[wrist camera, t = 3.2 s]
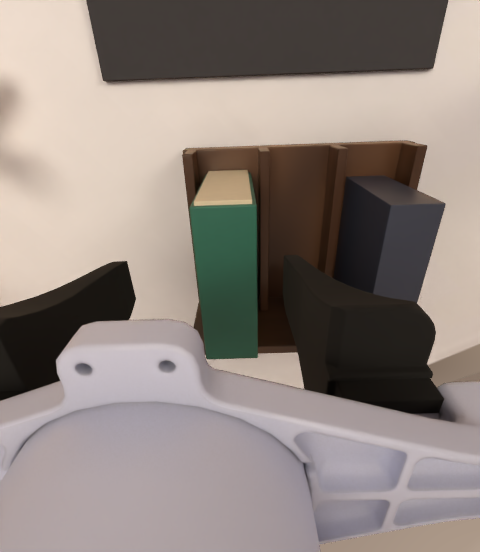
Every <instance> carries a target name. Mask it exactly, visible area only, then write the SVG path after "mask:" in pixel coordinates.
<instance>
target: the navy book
mask: <svg viewBox="0 0 480 552" xmlns="http://www.w3.org/2000/svg"><path fill="white" fill-rule="evenodd" d="M444 208H445V203H443V202H441V201H439V200H437V199H435V198H433V197H430V196H428V195H426V194H424V193H422V192H419V191H417V190H415V189H413V188H411V187H409V186H406V185H404V184H402V183H400V182H398V181H396V180H393V179H391V178H389V177H387V176H385V175H380V176H350V177H346V182H345V190H344V197H343V205H342V213H341V221H340V229H339V237H338V244H337V252H336V260H335V268H334V276H333V279H335V280H337V281H339V282H341V283H344V284H346V285H348V286H351V287H353V288H356V289H359V290H362V291H365V292H368V293H372V294H375V295H380V296H384V297H389V298H395V299H401V300H408V301H415V302H416V303H417V301H418V298H419V294H420V291H421V287H422V284H423V280H424V277H425V274H426V270H427V267H428V263H429V260H430V256H431V253H432V249H433V246H434V242H435V239H436V236H437V232H438V229H439V225H440V222H441V218H442V215H443V211H444Z"/></svg>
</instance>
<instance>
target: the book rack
mask: <svg viewBox="0 0 480 552" xmlns="http://www.w3.org/2000/svg"><path fill="white" fill-rule="evenodd" d="M426 150H427V145H422V144H417V143H415V142H411V141H378V142H350V143H322V144H294V145H265V146H237V147H209V148H186V149H185V150H183V155H182V157H183V165H184V174H185V183H186V192H187V200H188V209H189V208H190V206H191V204H192V202H193V200H194V198H195V196H196V194H197V192H198V190H199V188H200V186H201V184H202V182H203V180H204V178H205V176H206V174H207V173H208V171H223V170H248V172H250V173H251V177H252V183H253V188H254V194H255V199H256V204H257V307H258V353H289V352H298V351H297V347H296V344H295V341H294V337H293V334H292V331H291V328H290V325H289V321H288V318H287V315H286V312H285V306H284V300H283V263H284V255H298V256H300V257H302V258H303V259H304V260H306V261H307V262H308V263H310V264H311V265H313V266H314V267H315V268H317V269H318V270H320V271H321V272H323V273H325V274H326V275H328V276H330V277H331V278H333V276H334V268H335V260H336V252H337V244H338V237H339V229H340V221H341V213H342V205H343V197H344V190H345V182H346V177H350V176H380V175H385V176H387V177H389V178H391V179H393V180H396V181H398V182H400V183H402V184H404V185H406V186H409V187H411V188H413V189H415V190H417V187H418V183H419V179H420V175H421V171H422V166H423V162H424V158H425V154H426ZM189 218H190V210H189ZM190 226H191V219H190ZM191 235H192V227H191ZM192 244H193V236H192ZM193 253H194V245H193ZM194 261H195V254H194ZM195 270H196V263H195ZM196 279H197V272H196ZM197 288H198V280H197ZM198 296H199V289H198ZM194 329H196V330H197V331H198V333H199V335H200V337H201V339H202V341H203V344H204V352H205V355H206V351H205V342H204V333H203V325H202V316H201V307H200V298H199V304H198V309H197V313H196V318H195V323H194Z"/></svg>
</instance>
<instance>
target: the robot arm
mask: <svg viewBox="0 0 480 552" xmlns="http://www.w3.org/2000/svg"><path fill="white" fill-rule="evenodd" d="M135 300H136V297H135V293H134V289H133V285H132V281H131V276H130V272H129V268H128V264H127V261H122V262H112V263H109V264H106V265H104V266H102V267H100V268H98V269H96V270H94V271H92V272H90V273H88V274H86V275H84V276H82V277H80V278H78V279H76V280H74V281H72V282H70V283H68V284H65V285H63V286H61V287H59V288H57V289H54V290H52V291H49V292H47V293H44V294H42V295H39V296H36V297H33V298H30V299H27V300H23V301H20V302H17V303H14V304H10V305H6V306H2V307H0V552H321V550H320V545H319V544H325V543H330V542H336V541H341V540H346V539H352V538H357V537H362V536H367V535H373V534H379V533H384V532H390V531H395V530H400V529H406V528H411V527H417V526H423V525H429V524H435V523H441V522H447V521H457V520H467V519H476V518H480V381H476V382H448V383H444V384H442V385H440V386H438V388H436V386H435V385H434V384H433V382H432V381H431V379H430V378H432V375H433V373H432V371H431V370H430V368H429V367H428V365H427V362H428V359H429V356H430V353H431V350H432V347H433V344H434V340H435V334H436V331H435V326H434V323H433V322H432V320H431V319H430V317H429V316H428V315H427V314H426V313H425V312H424V311H423V309H422V308H421V307H420V306H419V305H418V304H417V303H416V302H415V301H408V300H401V299H395V298H389V297H384V296H380V295H375V294H372V293H368V292H365V291H362V290H359V289H356V288H353V287H351V286H348V285H346V284H344V283H341V282H339V281H337V280H335V279H333V278H331V277H330V276H328V275H326V274H325V273H323V272H321V271H320V270H318V269H317V268H315V267H314V266H313V265H311V264H310V263H308V262H307V261H306V260H304V259H303V258H302V257H300V256H298V255H284V263H283V300H284V306H285V312H286V315H287V318H288V321H289V325H290V328H291V331H292V334H293V337H294V341H295V344H296V347H297V351H298V355H299V361H300V366H301V371H302V377H303V383H304V389H301V388H296V387H292V386H288V385H283V384H279V383H274V382H270V381H266V380H261V379H257V378H253V377H248V376H244V375H240V374H235V373H231V372H226V371H222V370H218V369H214V368H212V367H211V366H209V365H208V363H207V361H206V358H205V352H204V344H203V341H202V339H201V337H200V335H199V333H198V331H197V330H196V329H194V328H193V327H191V326H190V325H188V324H187V323H185V322H182V321H177V320H171V319H152V320H129V318H130V316H131V313H132V310H133V307H134V304H135Z"/></svg>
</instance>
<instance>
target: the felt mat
mask: <svg viewBox="0 0 480 552" xmlns="http://www.w3.org/2000/svg"><path fill="white" fill-rule="evenodd" d="M86 1H87V5H88V10H89V15H90V20H91V25H92V29H93V34H94V39H95V44H96V49H97V54H98V58H99V63H100V68H101V73H102V78H103V81H128V80H154V79H180V78H206V77H232V76H258V75H284V74H310V73H336V72H362V71H387V70H413V69H431V68H433V67H434V62H435V58H436V53H437V49H438V44H439V40H440V35H441V31H442V26H443V22H444V17H445V13H446V8H447V4H448V0H86Z"/></svg>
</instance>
